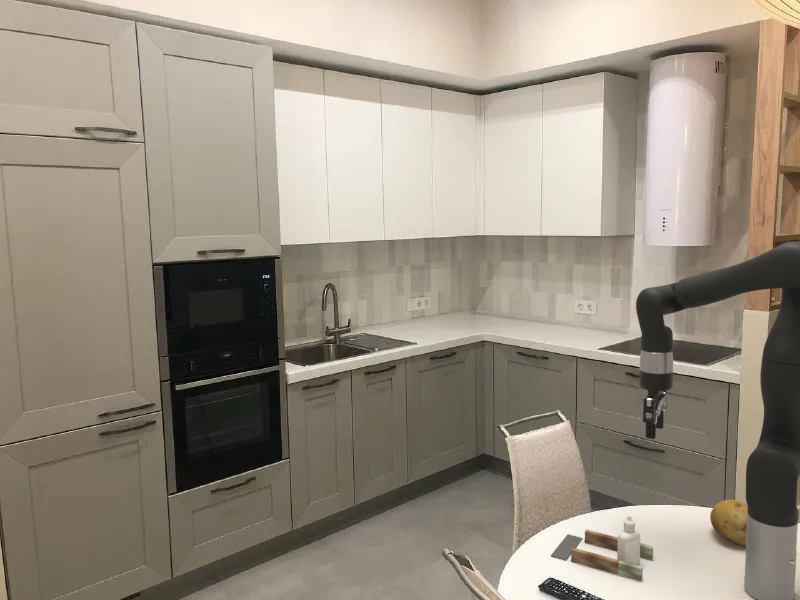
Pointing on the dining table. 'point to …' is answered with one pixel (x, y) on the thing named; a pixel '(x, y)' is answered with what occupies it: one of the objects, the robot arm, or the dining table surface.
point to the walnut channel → (607, 562)
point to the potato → (730, 520)
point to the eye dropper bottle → (629, 543)
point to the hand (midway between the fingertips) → (654, 433)
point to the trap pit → (566, 547)
